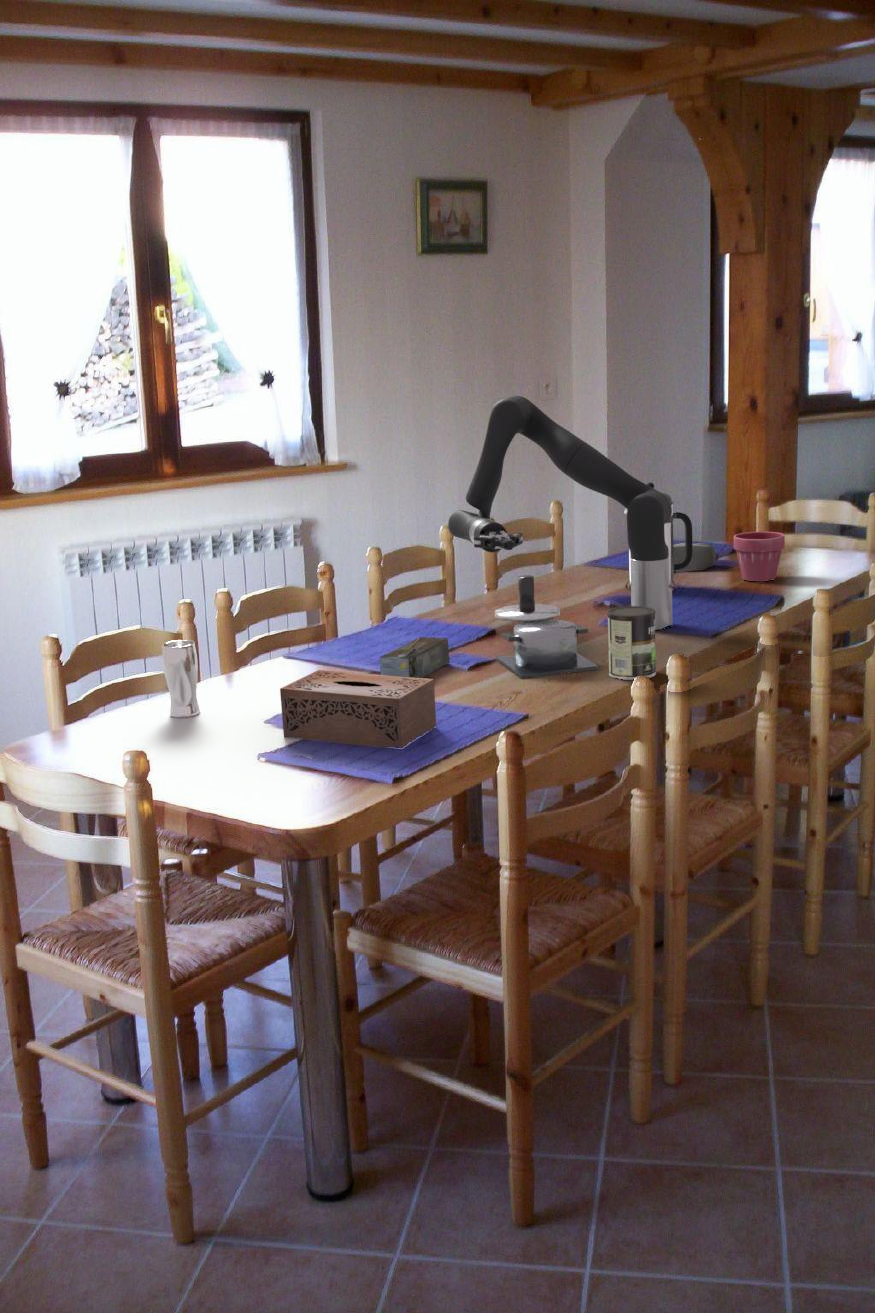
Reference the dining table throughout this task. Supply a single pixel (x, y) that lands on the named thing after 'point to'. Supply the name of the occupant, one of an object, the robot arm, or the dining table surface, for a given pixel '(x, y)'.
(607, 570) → the dining table surface
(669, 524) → the coffee press
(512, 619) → the lid
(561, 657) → the pot
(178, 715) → the crushed soda can
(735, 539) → the plant pot
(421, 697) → the tissue box cover
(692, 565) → the grey dish
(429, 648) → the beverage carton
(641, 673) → the coffee can
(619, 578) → the dining table surface
